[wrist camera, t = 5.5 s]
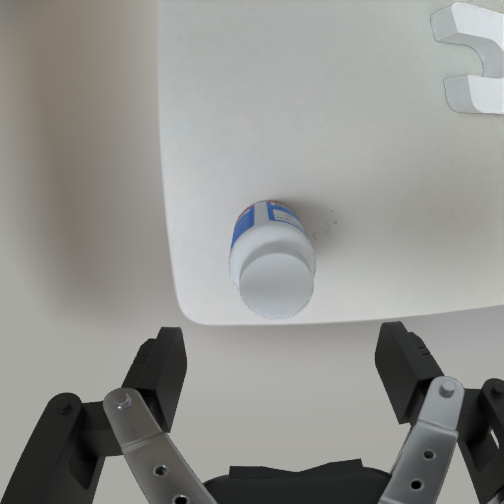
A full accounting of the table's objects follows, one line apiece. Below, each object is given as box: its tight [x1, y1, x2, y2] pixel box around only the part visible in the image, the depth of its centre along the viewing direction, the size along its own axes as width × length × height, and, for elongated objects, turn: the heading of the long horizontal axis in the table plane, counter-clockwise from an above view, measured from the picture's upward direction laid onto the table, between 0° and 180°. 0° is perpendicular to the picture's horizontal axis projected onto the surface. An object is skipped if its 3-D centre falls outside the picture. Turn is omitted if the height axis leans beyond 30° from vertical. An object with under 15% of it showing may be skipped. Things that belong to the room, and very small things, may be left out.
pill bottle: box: [229, 201, 316, 319], centre depth 21 cm, size 6×5×10 cm
